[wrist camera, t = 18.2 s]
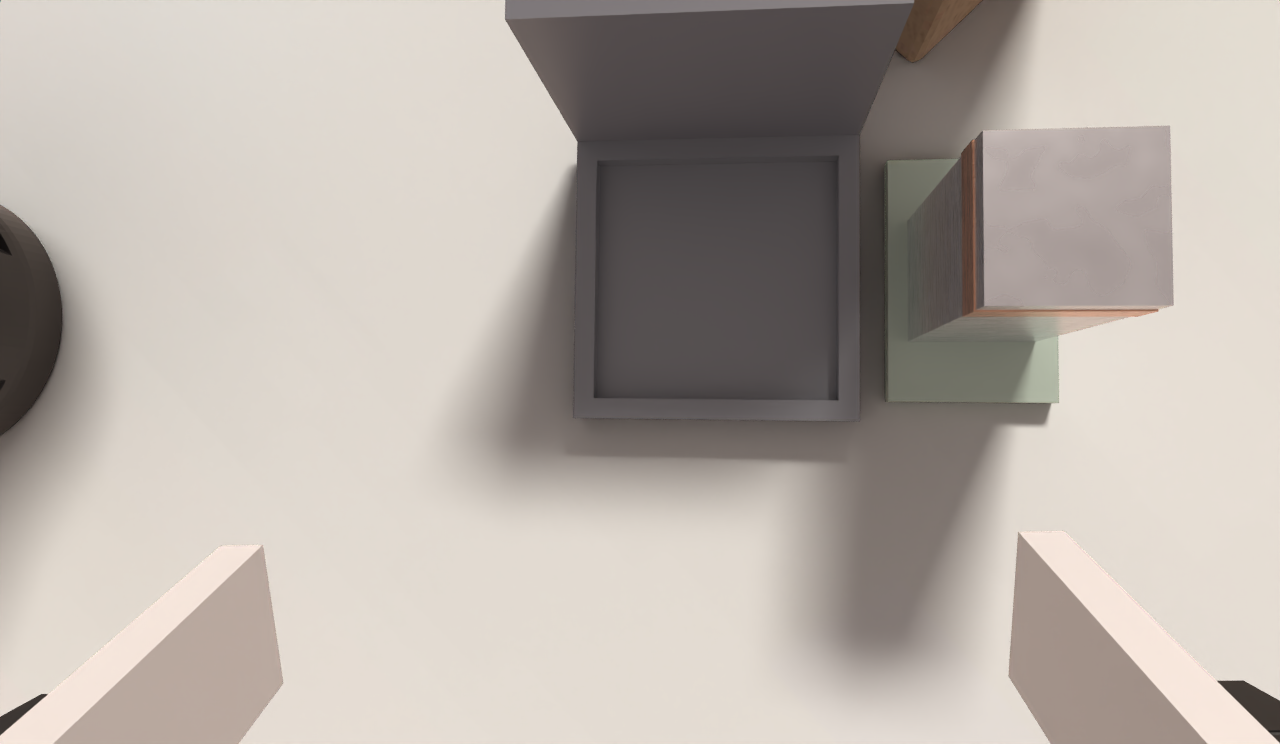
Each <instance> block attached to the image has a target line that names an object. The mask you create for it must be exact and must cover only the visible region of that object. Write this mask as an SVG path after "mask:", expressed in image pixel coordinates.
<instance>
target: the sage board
mask: <svg viewBox="0 0 1280 744" xmlns="http://www.w3.org/2000/svg"><path fill="white" fill-rule="evenodd" d="M958 160H959V159H920V160H888V161H887V162H886V164H885V402H974V403H1059V366H1058V336H1056V337H1052V338H1048V339H1044V340H1040V341H1036V342H908V232H907V221H908V220H909V218H910V217H911V216H912V215H913V214H914V212H915V211H916V210H917V209H918V208H919V206H920V205H921V204H922V203H923V202H924V200H925V199H926V198H927V197H928V196H929V194H930V193H931V192H932V191H933V190H934V188H935V187H936V186H937V185H938V184H939V182H940V181H941V180H942V179H943V178H944V176H945V175H946V174H947V173H948V172H949V170H950V169H951V168H952V167H953V166H954V164H955V163H956V162H957V161H958Z"/></svg>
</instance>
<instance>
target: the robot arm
mask: <svg viewBox="0 0 1280 744" xmlns="http://www.w3.org/2000/svg"><path fill="white" fill-rule="evenodd" d="M0 1H1V0H0ZM61 325H62V308H61V297H60V291H59V286H58V281H57V278H56V274H55V271H54V269H53V266H52V263H51V261H50V259H49V257H48V255H47V253H46V251H45V249H44V247H43V246H42V244H41V243H40V241H39V239H38V238H37V237H36V235H35V234H34V233H33V232H32V230H31V229H30V228H29V227H28V226H27V225H26V224H25V223H24V222H23V221H22V220H21V219H20V218H19V217H17V216H16V215H15V214H14V213H12V212H11V211H9V210H8V209H7V208H5V207H3V206H1V205H0V435H1V434H3V433H4V432H5V431H7V430H8V429H9V428H10V427H12V426H13V425H14V424H15V423H16V422H17V421H18V420H19V419H20V418H21V417H22V416H23V415H24V414H25V413H26V412H27V410H28V409H29V408H30V407H31V406H32V404H33V403H34V401H35V400H36V399H37V397H38V395H39V394H40V392H41V391H42V389H43V387H44V385H45V383H46V381H47V379H48V377H49V375H50V373H51V370H52V367H53V365H54V362H55V358H56V355H57V351H58V347H59V342H60V335H61ZM1009 678H1010V679H1011V681H1012V683H1013V684H1014V686H1015V687H1016V689H1017V691H1018V692H1019V694H1020V695H1021V697H1022V699H1023V700H1024V702H1025V703H1026V705H1027V706H1028V708H1029V710H1030V711H1031V713H1032V714H1033V716H1034V718H1035V719H1036V721H1037V722H1038V724H1039V726H1040V727H1041V729H1042V730H1043V732H1044V734H1045V735H1046V737H1047V738H1048V740H1049V741H1050V743H1051V744H1280V701H1279V700H1277V699H1276V698H1274V697H1272V696H1270V695H1268V694H1267V693H1265V692H1263V691H1261V690H1259V689H1258V688H1256V687H1254V686H1252V685H1250V684H1249V683H1247V682H1245V681H1216V680H1215V679H1214V678H1213V677H1212V676H1211V675H1210V674H1209V673H1208V672H1207V671H1206V670H1205V669H1204V668H1203V667H1202V666H1201V665H1200V664H1199V663H1198V662H1197V661H1196V660H1195V659H1194V658H1193V657H1192V656H1191V655H1190V654H1189V653H1188V652H1187V651H1186V650H1185V649H1184V648H1183V647H1182V646H1181V645H1180V644H1179V643H1178V642H1177V641H1176V640H1175V639H1174V638H1173V637H1172V636H1170V635H1169V634H1168V633H1167V632H1166V631H1165V630H1164V629H1163V628H1162V627H1161V626H1160V625H1159V624H1158V623H1157V622H1156V621H1155V620H1154V619H1153V618H1152V617H1151V616H1150V615H1149V614H1148V613H1147V612H1146V611H1145V610H1144V609H1143V608H1142V607H1141V606H1140V605H1139V604H1138V603H1137V602H1136V601H1135V600H1134V599H1133V598H1132V597H1131V596H1130V595H1129V594H1128V593H1127V592H1126V591H1125V590H1124V589H1123V588H1122V587H1121V586H1120V585H1119V584H1118V583H1117V582H1116V581H1115V580H1114V579H1113V578H1112V577H1111V576H1110V575H1109V574H1108V573H1107V572H1106V571H1104V570H1103V569H1102V568H1101V567H1100V566H1099V565H1098V564H1097V563H1096V562H1095V561H1094V560H1093V559H1092V558H1091V557H1090V556H1089V555H1088V554H1087V553H1086V552H1085V551H1084V550H1083V549H1082V548H1081V547H1080V546H1079V545H1078V544H1077V543H1076V542H1075V541H1074V540H1073V539H1072V538H1071V537H1070V536H1069V535H1068V534H1067V533H1066V532H1065V531H1031V532H1018V543H1017V557H1016V572H1015V587H1014V602H1013V616H1012V631H1011V646H1010V661H1009ZM282 684H283V677H282V670H281V663H280V657H279V650H278V643H277V637H276V630H275V623H274V616H273V610H272V603H271V596H270V589H269V583H268V576H267V569H266V562H265V556H264V549H263V545H224V546H220V547H218V548H217V549H216V550H215V551H214V552H213V553H211V554H210V555H209V556H208V557H207V558H206V559H205V560H203V561H202V562H201V563H200V564H199V565H198V566H196V567H195V568H194V569H193V570H192V571H191V572H189V573H188V574H187V575H186V576H185V577H184V578H182V579H181V580H180V581H179V582H178V583H177V584H176V585H174V586H173V587H172V588H171V589H170V590H169V591H167V592H166V593H165V594H164V595H163V596H162V597H160V598H159V599H158V600H157V601H156V602H155V603H153V604H152V605H151V606H150V607H149V608H148V609H147V610H145V611H144V612H143V613H142V614H141V615H140V616H138V617H137V618H136V619H135V620H134V621H133V622H131V623H130V624H129V625H128V626H127V627H126V628H124V629H123V630H122V631H121V632H120V633H119V634H118V635H116V636H115V637H114V638H113V639H112V640H111V641H109V642H108V643H107V644H106V645H105V646H104V647H102V648H101V649H100V650H99V651H98V652H97V653H95V654H94V655H93V656H92V657H91V658H90V659H89V660H87V661H86V662H85V663H84V664H83V665H82V666H80V667H79V668H78V669H77V670H76V671H75V672H73V673H72V674H71V675H70V676H69V677H68V678H66V679H65V680H64V681H63V682H62V683H61V684H60V685H58V686H57V687H56V688H55V689H54V690H53V691H51V692H50V693H49V694H41V695H39V696H37V697H35V698H34V699H32V700H30V701H28V702H26V703H24V704H23V705H21V706H19V707H17V708H15V709H14V710H12V711H10V712H8V713H6V714H4V715H3V716H1V717H0V744H239V742H240V741H241V740H242V738H243V737H244V736H245V734H246V733H247V731H248V730H249V729H250V727H251V726H252V725H253V723H254V722H255V721H256V719H257V718H258V717H259V715H260V714H261V713H262V711H263V710H264V709H265V707H266V706H267V705H268V703H269V702H270V700H271V699H272V698H273V696H274V695H275V694H276V692H277V691H278V690H279V688H280V687H281V686H282Z"/></svg>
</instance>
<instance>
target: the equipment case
mask: <svg viewBox="0 0 1280 744" xmlns="http://www.w3.org/2000/svg"><path fill="white" fill-rule="evenodd" d="M913 5H914V0H506V1H505V20H506V22H507V23H508V25H509V27H510V28H511V30H512V32H513V34H514V35H515V37H516V39H517V40H518V42H519V44H520V45H521V47H522V49H523V50H524V52H525V54H526V55H527V57H528V59H529V61H530V62H531V64H532V66H533V67H534V69H535V71H536V72H537V74H538V76H539V77H540V79H541V81H542V82H543V84H544V86H545V87H546V89H547V91H548V93H549V94H550V96H551V98H552V99H553V101H554V103H555V104H556V106H557V108H558V109H559V111H560V113H561V114H562V116H563V118H564V120H565V121H566V123H567V125H568V126H569V128H570V130H571V131H572V133H573V135H574V136H575V138H576V140H577V141H578V145H577V211H576V276H575V342H574V408H573V418H610V419H697V420H783V421H860V133H861V130H862V128H863V125H864V123H865V121H866V118H867V116H868V113H869V111H870V109H871V106H872V104H873V101H874V99H875V96H876V94H877V92H878V89H879V87H880V84H881V82H882V80H883V77H884V75H885V72H886V70H887V67H888V65H889V63H890V60H891V58H892V55H893V53H894V51H895V48H896V46H897V43H898V41H899V38H900V36H901V34H902V31H903V29H904V26H905V24H906V22H907V19H908V17H909V14H910V12H911V9H912V7H913Z"/></svg>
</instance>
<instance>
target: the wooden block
mask: <svg viewBox="0 0 1280 744" xmlns="http://www.w3.org/2000/svg"><path fill="white" fill-rule="evenodd" d="M981 1H982V0H914V5H913V7H912V9H911V12H910V14H909V17H908V19H907V22H906V24H905V26H904V29H903V31H902V34H901V36H900V38H899V41H898V43H897V46H896V48H895V49H896V50H897V51H898V52H899V53H900V54H901V55H902V56H903V57H904V58H906V59H907V60H908V61H910V62H912V63H913V62H916V61H918V60H920V59H922V58H923V57H924V56H925V55H926V54H927V53H928V52H929V51H930V50H931V49H932V48H933V47H934V46H935V45H936V44H937V43H939V42H940V41H941V40H942V39H943V38H944V37H945V36H946V35H947V34H948V33H949V32H950V31H951V30H952V29H953V28H954V27H955V26H956V25H957V24H958V23H959V22H960V21H962V20H963V19H964V18H965V17H966V16H967V15H968V14H969V13H970V12H971V11H972V10H973V9H974V8H975V7H976V6H977V5H978V4H979V3H980V2H981Z"/></svg>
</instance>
